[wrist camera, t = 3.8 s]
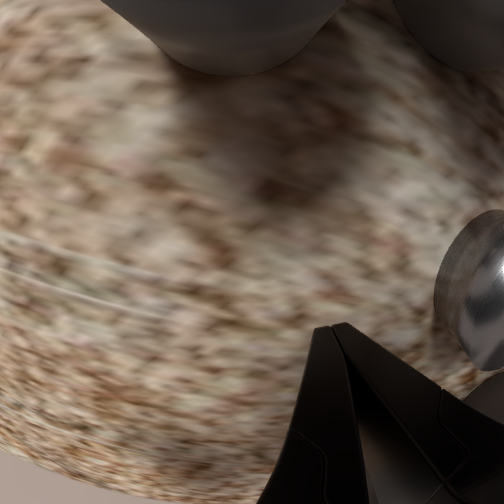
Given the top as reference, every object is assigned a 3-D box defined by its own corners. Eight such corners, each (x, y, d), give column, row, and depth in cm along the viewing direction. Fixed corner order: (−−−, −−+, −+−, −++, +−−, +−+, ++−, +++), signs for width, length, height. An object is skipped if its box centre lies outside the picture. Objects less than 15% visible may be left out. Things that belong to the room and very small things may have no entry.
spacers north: (519, 362, 11) (560, 416, 7) (496, 407, 12) (526, 458, 8) (327, 434, 11) (348, 525, 7) (327, 470, 13) (341, 541, 9)
